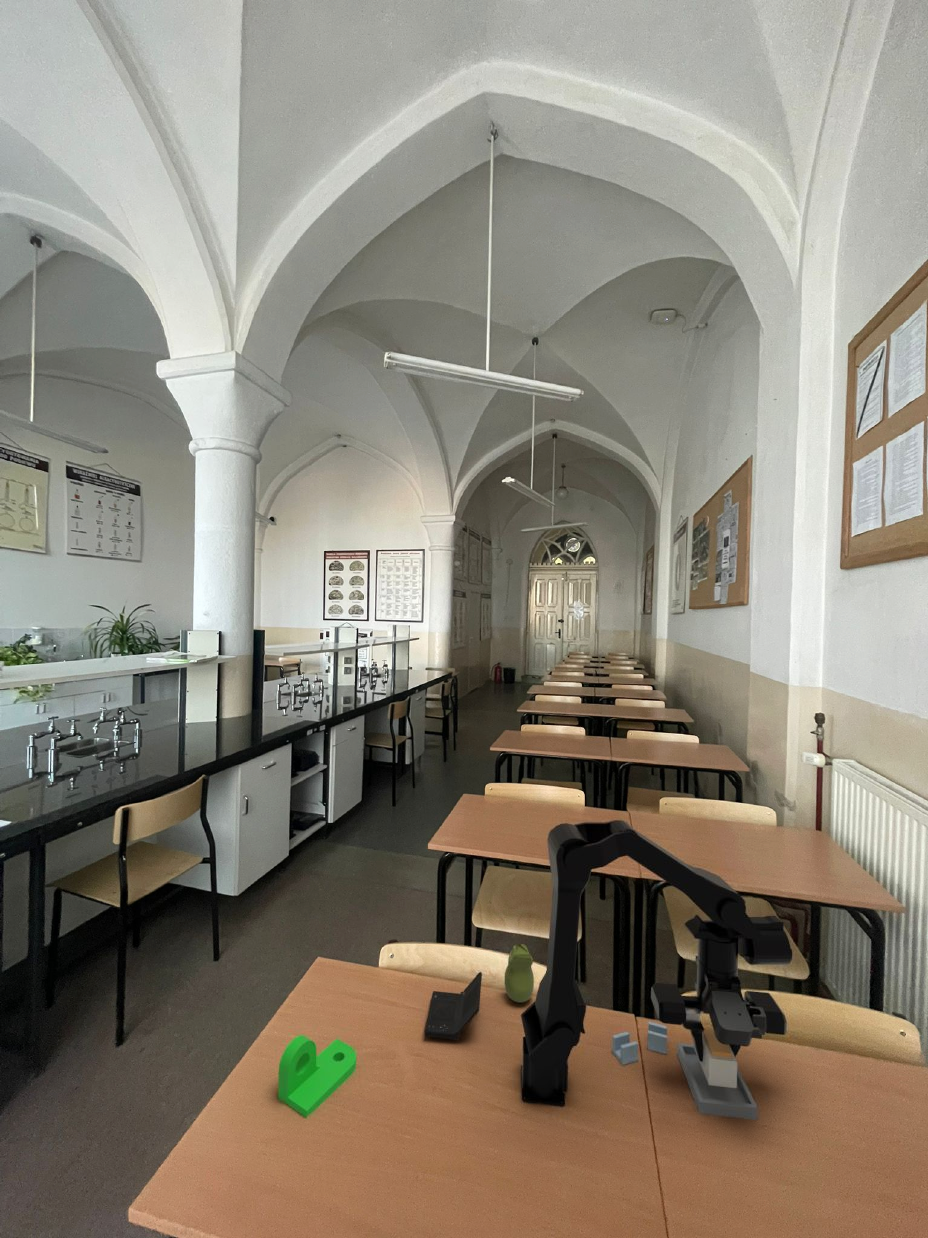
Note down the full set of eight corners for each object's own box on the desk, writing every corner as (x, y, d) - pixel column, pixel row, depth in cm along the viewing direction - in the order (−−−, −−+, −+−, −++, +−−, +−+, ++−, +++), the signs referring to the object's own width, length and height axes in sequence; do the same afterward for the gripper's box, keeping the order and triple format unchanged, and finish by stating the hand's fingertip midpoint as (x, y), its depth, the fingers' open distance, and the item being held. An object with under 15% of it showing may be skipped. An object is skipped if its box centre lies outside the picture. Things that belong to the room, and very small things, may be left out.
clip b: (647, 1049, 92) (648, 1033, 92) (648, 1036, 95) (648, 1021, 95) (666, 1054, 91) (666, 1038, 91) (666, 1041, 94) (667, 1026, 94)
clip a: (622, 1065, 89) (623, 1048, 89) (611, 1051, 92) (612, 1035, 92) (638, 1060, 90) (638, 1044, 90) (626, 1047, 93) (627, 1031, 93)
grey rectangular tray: (699, 1114, 80) (699, 1102, 80) (677, 1053, 91) (677, 1043, 91) (757, 1120, 80) (757, 1108, 80) (727, 1058, 91) (728, 1048, 91)
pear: (529, 988, 107) (531, 937, 107) (536, 1008, 101) (538, 954, 101) (501, 990, 106) (503, 939, 106) (507, 1010, 101) (508, 956, 101)
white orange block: (708, 1085, 82) (709, 1054, 82) (694, 1048, 89) (695, 1020, 89) (736, 1088, 82) (737, 1058, 82) (719, 1051, 89) (720, 1023, 89)
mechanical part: (306, 1125, 77) (307, 1069, 77) (278, 1104, 80) (279, 1050, 80) (363, 1066, 88) (364, 1017, 88) (336, 1050, 91) (337, 1002, 91)
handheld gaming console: (421, 987, 103) (456, 948, 103) (450, 1008, 104) (485, 970, 104) (421, 1040, 92) (459, 997, 91) (453, 1064, 93) (491, 1021, 92)
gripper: (670, 991, 78) (667, 1099, 78) (807, 1004, 76) (804, 1114, 77) (651, 945, 89) (648, 1040, 89) (770, 955, 88) (767, 1051, 88)
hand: (714, 1061), depth 85 cm, fingers closed on white orange block, 4 cm apart
